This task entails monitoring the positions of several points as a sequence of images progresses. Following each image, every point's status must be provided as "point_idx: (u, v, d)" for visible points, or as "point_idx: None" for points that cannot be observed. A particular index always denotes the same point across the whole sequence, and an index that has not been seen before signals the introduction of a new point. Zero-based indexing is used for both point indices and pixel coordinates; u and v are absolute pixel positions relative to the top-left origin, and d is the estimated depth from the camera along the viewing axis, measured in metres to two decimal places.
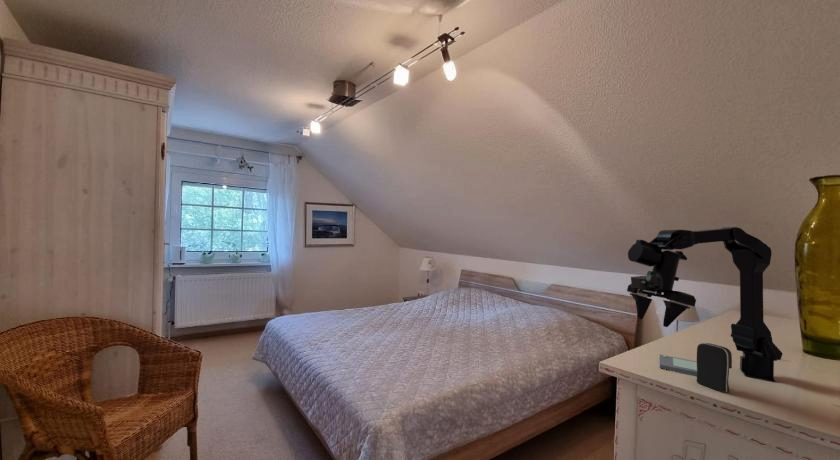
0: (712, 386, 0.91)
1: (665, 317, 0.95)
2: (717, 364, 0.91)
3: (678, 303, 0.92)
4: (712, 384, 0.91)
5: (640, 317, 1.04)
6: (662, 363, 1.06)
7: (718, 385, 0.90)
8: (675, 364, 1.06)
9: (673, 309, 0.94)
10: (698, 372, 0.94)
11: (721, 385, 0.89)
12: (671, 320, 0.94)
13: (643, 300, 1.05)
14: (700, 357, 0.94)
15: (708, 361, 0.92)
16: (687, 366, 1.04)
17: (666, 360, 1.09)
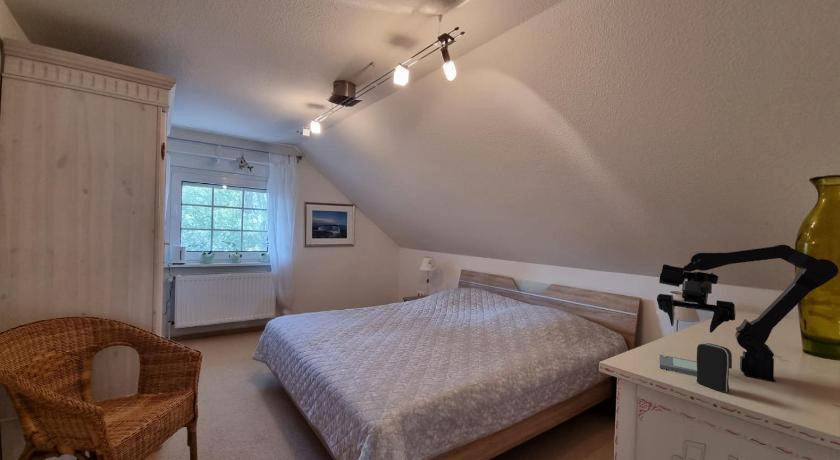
0: (712, 386, 0.91)
1: (713, 323, 0.99)
2: (717, 364, 0.91)
3: (727, 312, 1.00)
4: (712, 384, 0.91)
5: (672, 323, 1.06)
6: (662, 363, 1.06)
7: (718, 385, 0.90)
8: (675, 364, 1.06)
9: None
10: (698, 372, 0.94)
11: (721, 385, 0.89)
12: (715, 327, 1.00)
13: (673, 309, 1.09)
14: (700, 357, 0.94)
15: (708, 361, 0.92)
16: (687, 366, 1.04)
17: (666, 360, 1.09)
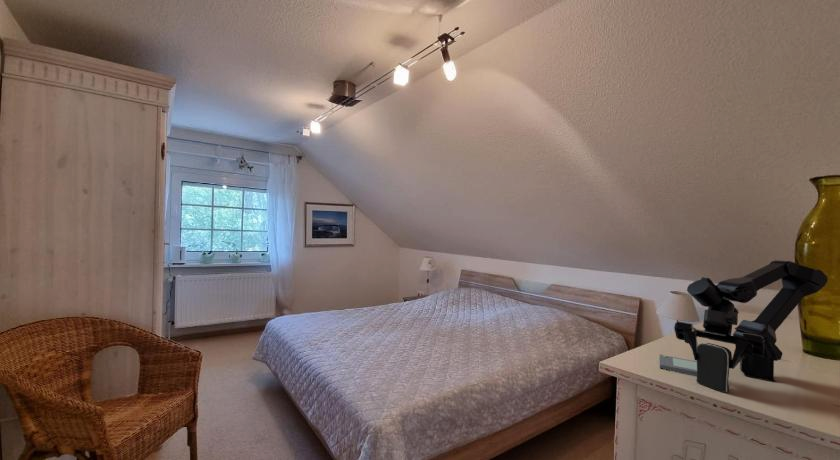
0: (712, 386, 0.91)
1: (735, 358, 0.90)
2: (717, 364, 0.90)
3: (751, 346, 0.90)
4: (712, 384, 0.91)
5: (696, 357, 0.95)
6: (662, 363, 1.06)
7: (718, 385, 0.90)
8: (675, 364, 1.06)
9: None
10: (698, 372, 0.94)
11: (721, 385, 0.89)
12: (737, 363, 0.90)
13: (696, 341, 0.98)
14: (700, 357, 0.94)
15: (708, 361, 0.92)
16: (687, 366, 1.04)
17: (666, 360, 1.09)
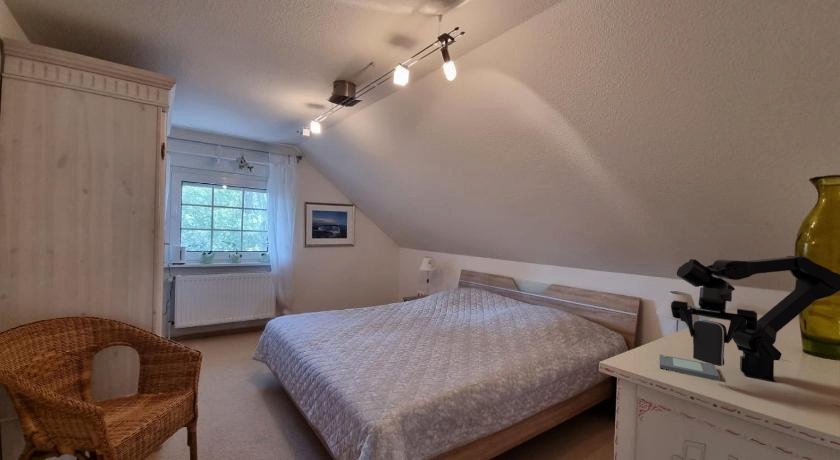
0: (708, 361, 0.94)
1: (729, 332, 0.93)
2: (713, 339, 0.93)
3: (745, 321, 0.93)
4: (708, 359, 0.94)
5: (692, 334, 0.98)
6: (662, 363, 1.06)
7: (714, 359, 0.93)
8: (675, 364, 1.06)
9: None
10: (694, 348, 0.97)
11: (717, 359, 0.92)
12: (731, 337, 0.93)
13: (692, 318, 1.01)
14: (696, 333, 0.97)
15: (704, 337, 0.95)
16: (687, 366, 1.04)
17: (666, 360, 1.09)
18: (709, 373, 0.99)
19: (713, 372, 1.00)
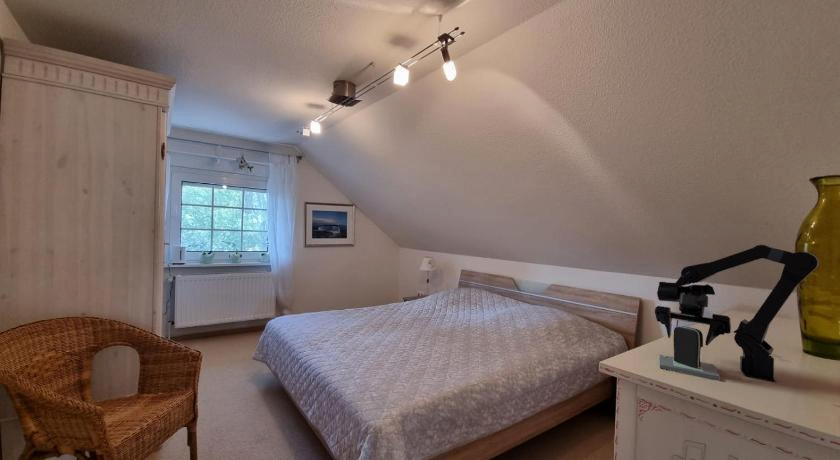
0: (686, 363, 1.05)
1: (708, 336, 1.02)
2: (690, 344, 1.04)
3: None
4: (686, 361, 1.05)
5: (669, 335, 1.09)
6: (662, 363, 1.06)
7: (691, 362, 1.03)
8: (675, 364, 1.06)
9: None
10: (675, 351, 1.08)
11: (694, 362, 1.03)
12: (710, 340, 1.03)
13: (670, 322, 1.12)
14: (676, 338, 1.08)
15: (683, 341, 1.06)
16: (687, 366, 1.04)
17: (666, 360, 1.09)
18: (709, 373, 0.99)
19: (713, 372, 1.00)
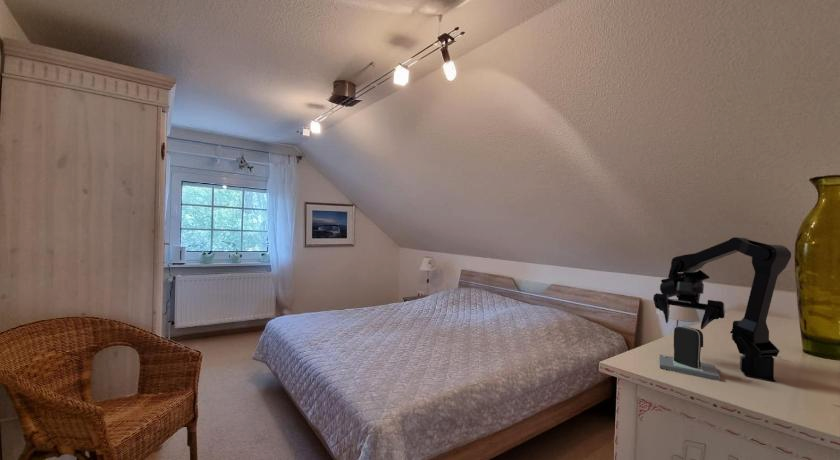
0: (686, 363, 1.05)
1: (704, 320, 1.09)
2: (690, 344, 1.04)
3: (717, 310, 1.09)
4: (686, 361, 1.05)
5: (667, 320, 1.15)
6: (662, 363, 1.06)
7: (691, 362, 1.04)
8: (675, 364, 1.06)
9: None
10: (675, 351, 1.08)
11: (694, 362, 1.03)
12: (705, 324, 1.09)
13: (668, 308, 1.18)
14: (676, 338, 1.08)
15: (683, 341, 1.06)
16: (687, 366, 1.04)
17: (666, 360, 1.09)
18: (709, 373, 0.99)
19: (713, 372, 1.00)
